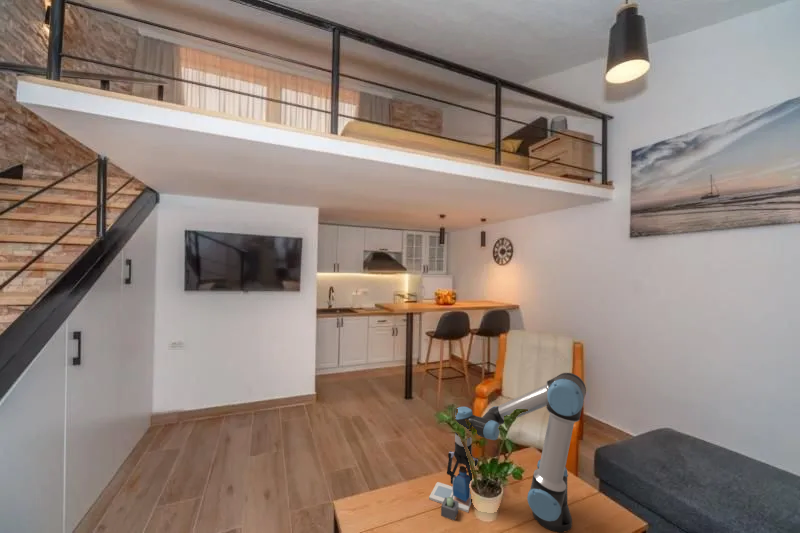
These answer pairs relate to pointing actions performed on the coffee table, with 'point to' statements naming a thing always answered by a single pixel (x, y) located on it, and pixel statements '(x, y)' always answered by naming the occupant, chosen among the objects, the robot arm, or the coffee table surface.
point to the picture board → (447, 491)
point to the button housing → (449, 509)
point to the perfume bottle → (461, 484)
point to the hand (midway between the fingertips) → (462, 493)
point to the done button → (450, 502)
